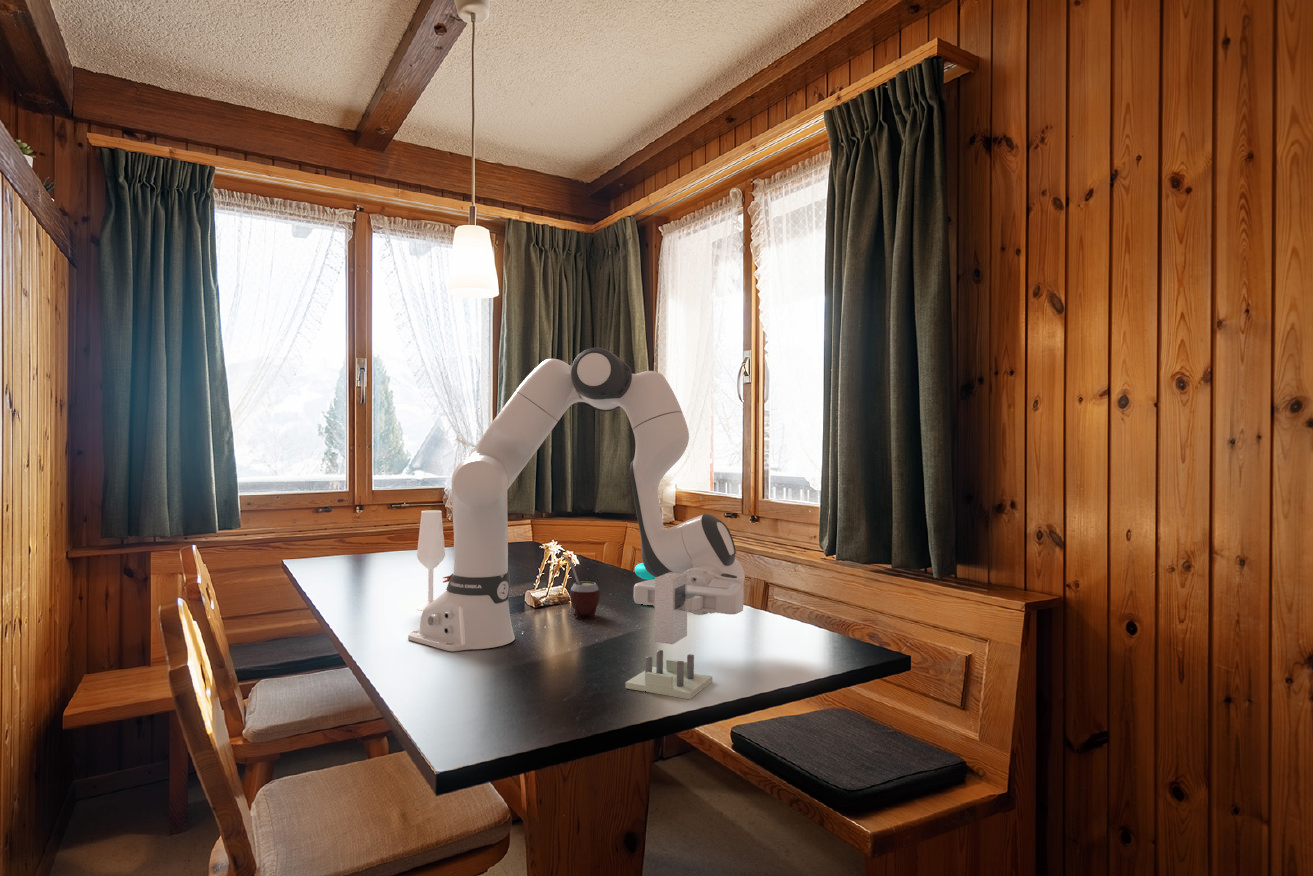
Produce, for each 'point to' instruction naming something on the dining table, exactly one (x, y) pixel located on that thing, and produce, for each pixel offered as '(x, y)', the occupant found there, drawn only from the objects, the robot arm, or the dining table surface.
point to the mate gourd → (583, 596)
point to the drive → (670, 608)
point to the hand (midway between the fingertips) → (670, 604)
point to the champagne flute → (430, 547)
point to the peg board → (670, 678)
